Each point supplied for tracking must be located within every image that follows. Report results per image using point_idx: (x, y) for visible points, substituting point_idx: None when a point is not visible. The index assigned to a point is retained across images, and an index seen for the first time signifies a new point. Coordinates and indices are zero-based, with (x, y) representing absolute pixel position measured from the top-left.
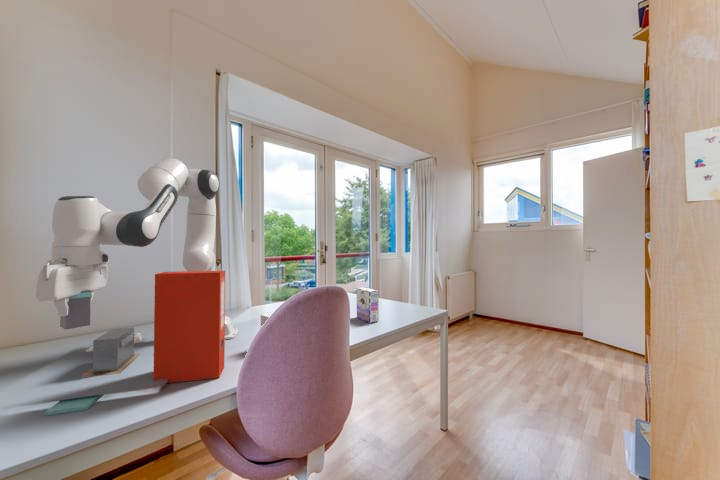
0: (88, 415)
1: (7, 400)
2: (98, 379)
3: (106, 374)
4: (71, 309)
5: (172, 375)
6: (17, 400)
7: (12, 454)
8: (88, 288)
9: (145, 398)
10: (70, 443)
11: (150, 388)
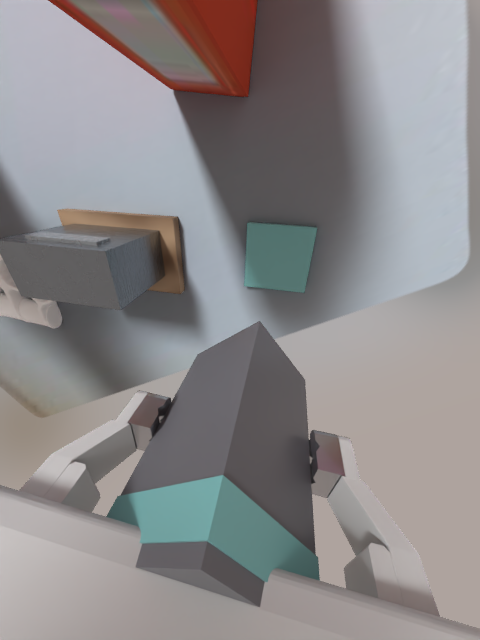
0: (348, 213)
1: None
2: None
3: (174, 247)
4: (296, 451)
5: (251, 4)
6: None
7: (428, 281)
8: (120, 582)
9: (328, 90)
10: (465, 199)
11: (265, 100)
